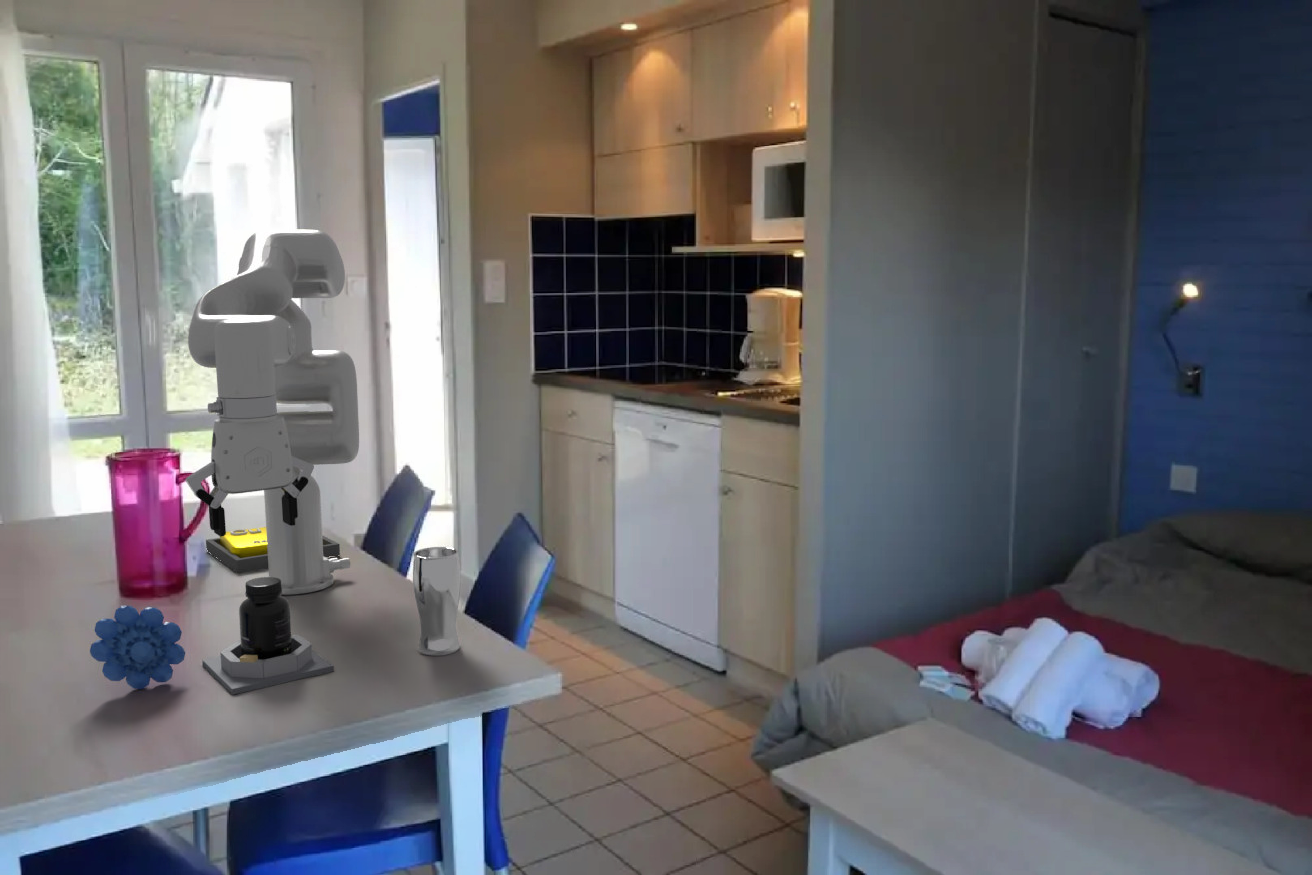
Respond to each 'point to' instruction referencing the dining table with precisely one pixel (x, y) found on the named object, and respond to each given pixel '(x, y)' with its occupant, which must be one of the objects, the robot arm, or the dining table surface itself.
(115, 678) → the blue petal flower
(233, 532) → the element tile
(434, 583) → the beer glass
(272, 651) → the supplement bottle
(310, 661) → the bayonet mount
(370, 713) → the dining table surface
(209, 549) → the shallow dark tray
